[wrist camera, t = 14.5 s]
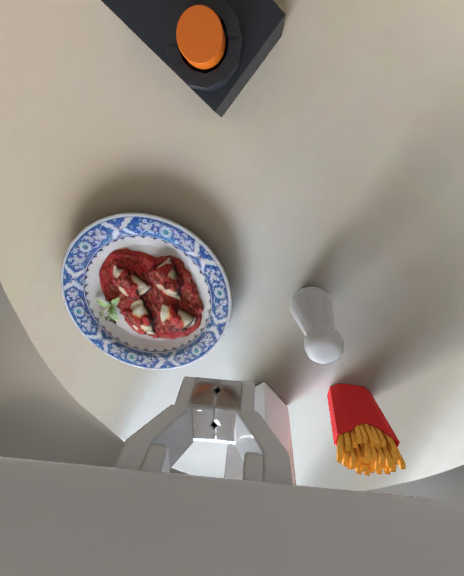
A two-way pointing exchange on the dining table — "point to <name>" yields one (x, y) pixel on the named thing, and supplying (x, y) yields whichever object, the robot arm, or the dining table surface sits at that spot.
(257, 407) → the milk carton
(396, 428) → the dining table surface
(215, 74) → the button base
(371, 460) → the french fries
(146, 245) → the ceramic plate
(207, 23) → the orange push button
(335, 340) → the salt shaker
